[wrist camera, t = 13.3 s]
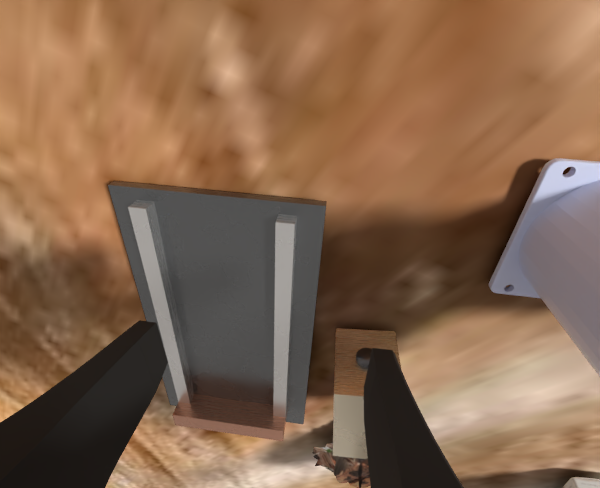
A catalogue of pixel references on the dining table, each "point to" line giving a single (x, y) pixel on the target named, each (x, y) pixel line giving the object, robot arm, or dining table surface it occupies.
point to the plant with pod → (344, 466)
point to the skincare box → (582, 483)
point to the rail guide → (227, 299)
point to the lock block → (354, 386)
